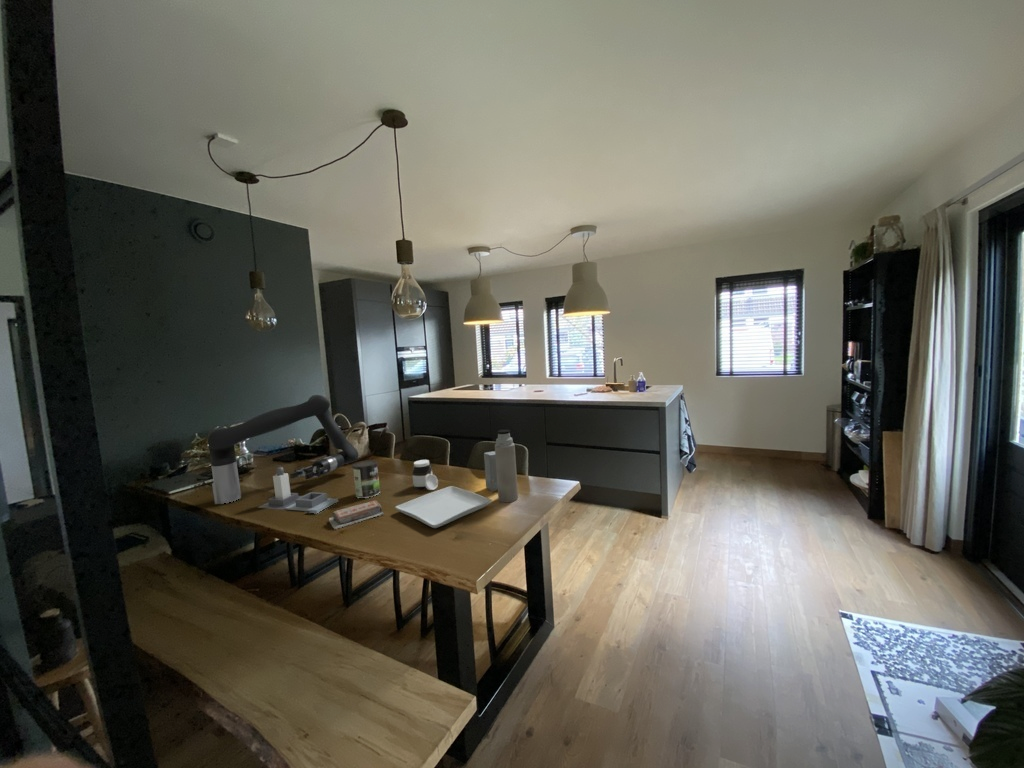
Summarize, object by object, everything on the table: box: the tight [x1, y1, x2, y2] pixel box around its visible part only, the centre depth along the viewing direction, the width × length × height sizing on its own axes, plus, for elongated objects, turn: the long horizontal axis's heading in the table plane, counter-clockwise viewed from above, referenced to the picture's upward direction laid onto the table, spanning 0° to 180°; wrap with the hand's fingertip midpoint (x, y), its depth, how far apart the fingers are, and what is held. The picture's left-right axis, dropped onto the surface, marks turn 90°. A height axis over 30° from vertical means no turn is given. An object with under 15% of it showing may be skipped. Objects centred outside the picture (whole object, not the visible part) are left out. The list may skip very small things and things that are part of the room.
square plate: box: [394, 485, 493, 529], centre depth 155 cm, size 27×27×4 cm
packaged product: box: [328, 500, 385, 530], centre depth 154 cm, size 18×5×10 cm
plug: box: [272, 466, 292, 499], centre depth 173 cm, size 4×4×15 cm
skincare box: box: [483, 450, 498, 493], centre depth 176 cm, size 8×7×16 cm
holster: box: [256, 492, 303, 510], centre depth 174 cm, size 14×14×4 cm
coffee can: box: [352, 459, 381, 499], centre depth 178 cm, size 10×10×14 cm
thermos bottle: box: [494, 429, 519, 503], centre depth 162 cm, size 8×8×28 cm
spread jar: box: [411, 459, 439, 491], centre depth 182 cm, size 12×11×12 cm
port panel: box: [284, 491, 339, 515], centre depth 168 cm, size 16×12×4 cm
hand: (298, 476), depth 181 cm, fingers open, 8 cm apart
